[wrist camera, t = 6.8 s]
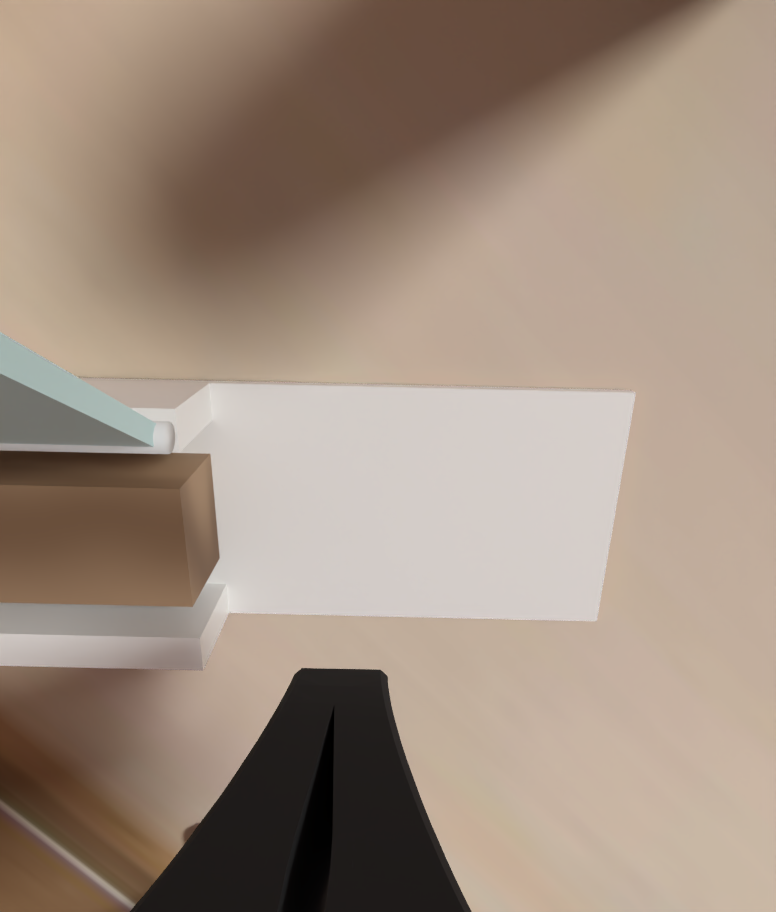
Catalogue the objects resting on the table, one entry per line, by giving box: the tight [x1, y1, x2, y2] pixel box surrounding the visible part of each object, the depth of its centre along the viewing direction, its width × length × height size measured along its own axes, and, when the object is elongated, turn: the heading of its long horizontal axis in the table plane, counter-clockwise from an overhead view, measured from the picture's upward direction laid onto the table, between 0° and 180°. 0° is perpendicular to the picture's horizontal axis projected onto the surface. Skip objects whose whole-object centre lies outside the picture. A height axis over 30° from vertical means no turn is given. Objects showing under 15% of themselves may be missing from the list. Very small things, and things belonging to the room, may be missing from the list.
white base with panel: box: [0, 377, 636, 670], centre depth 15 cm, size 7×26×3 cm, turn 89°
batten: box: [0, 450, 220, 607], centre depth 15 cm, size 3×8×2 cm, turn 89°
